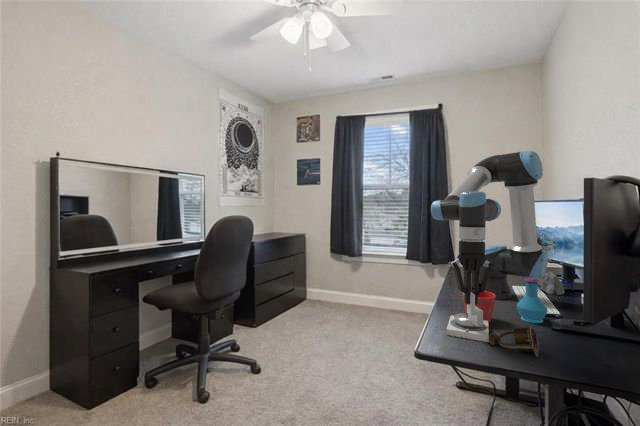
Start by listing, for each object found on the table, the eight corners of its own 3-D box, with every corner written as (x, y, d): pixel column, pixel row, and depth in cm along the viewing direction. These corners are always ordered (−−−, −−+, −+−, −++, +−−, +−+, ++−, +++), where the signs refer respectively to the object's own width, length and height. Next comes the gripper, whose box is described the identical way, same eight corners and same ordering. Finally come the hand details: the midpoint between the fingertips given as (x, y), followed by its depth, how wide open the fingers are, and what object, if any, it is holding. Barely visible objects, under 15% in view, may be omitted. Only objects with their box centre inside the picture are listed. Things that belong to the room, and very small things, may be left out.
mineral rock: (535, 287, 154) (535, 267, 154) (562, 290, 148) (562, 269, 148) (536, 293, 143) (535, 272, 143) (565, 296, 137) (564, 274, 137)
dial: (450, 319, 106) (450, 299, 106) (474, 318, 106) (474, 298, 106) (466, 333, 94) (466, 311, 93) (493, 333, 93) (493, 310, 93)
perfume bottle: (543, 317, 113) (543, 277, 112) (550, 326, 104) (550, 282, 104) (514, 313, 116) (514, 275, 116) (519, 322, 108) (518, 280, 108)
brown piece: (529, 343, 80) (548, 327, 85) (483, 323, 91) (501, 310, 96) (530, 366, 81) (548, 350, 86) (484, 344, 92) (502, 330, 97)
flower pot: (500, 325, 105) (500, 298, 105) (466, 323, 107) (466, 296, 107) (490, 315, 116) (489, 289, 115) (459, 313, 118) (459, 288, 118)
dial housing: (450, 320, 111) (450, 314, 111) (488, 326, 105) (488, 319, 105) (446, 335, 98) (446, 327, 98) (488, 342, 93) (488, 334, 92)
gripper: (456, 241, 92) (455, 317, 93) (498, 241, 92) (497, 318, 92) (447, 238, 100) (446, 309, 100) (486, 239, 99) (485, 310, 100)
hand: (470, 314), depth 96 cm, fingers closed
